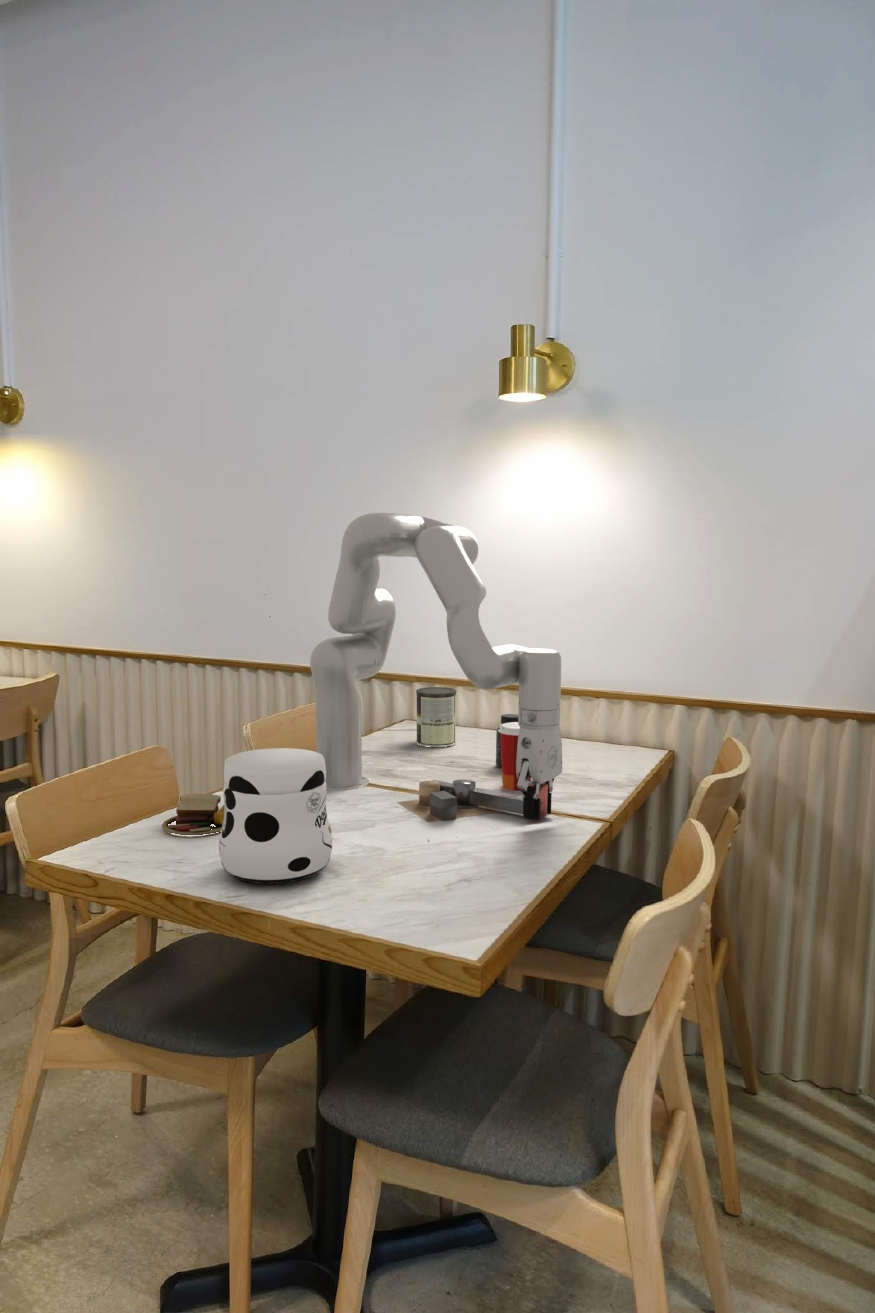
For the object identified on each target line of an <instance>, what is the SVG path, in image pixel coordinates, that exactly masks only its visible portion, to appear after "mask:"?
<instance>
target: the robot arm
mask: <svg viewBox="0 0 875 1313" xmlns="http://www.w3.org/2000/svg"><path fill="white" fill-rule="evenodd" d="M342 536H343V537H342V539H341V547H340V557H339V562H338V568H337V572H336V574H335V580H334V583H333V584H334V585H333V588H332V593H331V598H330V601H329V606H328V612H327V619H328V623H329V626H330V627H331V628H332V629H333V630H334V631H335V632H336V633H337V632H338V633H339V634H344V636H337V637H329V638H326V639H324V640H321V642H319V643H318V644H317V645H315V647H314V648H313V650H312V651H311V655H310V662H309V663H310V672H311V675H312V676H311V677H312V682H313V687H314V697H315V698H314V701H315V703H314V704H315V727H316V728H315V745H316V751H315V752H317V753H320V754H322V755H323V757H324V760H325V766H326V791H349V790H355V789H356V790H357V789H360V788H364V787H365V786H367V785H368V784H370V780H369V778H368V777H366V776H363V774H362V771H363V770H362V768H363V763H362V760H363V758H362V757H363V753H362V750H363V749H362V748H363V747H362V746H363V743H362V738H363V736H362V734H363V733H362V732H363V730H362V700H361V696H360V692H359V691H358V688H357V685H356V683H355V681H359V680H364V679H368V678H372V677H374V676H375V675H377V674H378V673H379V672H380V671H381V670H382V668H383V666H384V664H385V662H386V658H387V654H388V652H389V646H390V641H391V638H392V634H393V630H394V627H395V626H394V625H395V623H396V622H395V621H396V603H395V601H394V598H393V596H392V595H391V593H389V592H388V590H386V589H385V588H382V587H379V586H378V583H379V580H380V573H381V572H380V571H381V568H380V561H379V557H393V558H394V557H396V558H398V557H400V558H403V557H405V558H406V557H408V558H409V557H410V558H416V559H417V561H418V563H419V564H420V565H421V567H422V570H423V571H424V573H425V575H426V576H427V578H428V581H429V582H430V584H431V586H432V587H433V589H434V591H435V593H436V595H437V596H438V598H439V600H440V602H441V605H442V606H443V608H444V610H445V612H446V629H447V631H446V632H447V639H448V643H449V646H450V649H451V652H452V654H453V656H454V658H455V659H456V661H457V663H458V665H459V666H460V669H461V670H462V672H463V673H464V675H465V677H466V678H467V679H468V681H469V682H470V683H471V684H472V685H473V686H475V687H476V688H478V689H481V690H484V691H491V690H496V689H500V688H503V687H508V686H512V685H518V709H517V710H518V714H517V715H518V725H519V726H520V729H519V736H518V745H517V759H516V774H517V778H518V779H519V780H518V784H517V787H518V788H519V789H520V790H521V791H522V792H521V791H520V792H521V793H522V794H521V796H522V797H523V814H522V817H523V818H524V819H528V820H533V821H539V820H541V818H540V798H538V796H539V786H540V784H542V783H546V784H548V798H547V815H551V813H552V792H553V791H554V790H553V789H554V786H553V784H554V780H555V778H557V777H559V775H561V774H562V772H563V744H562V742H563V740H562V731H561V695H562V693H561V691H562V656H561V654H560V652H559V651H558V650H555V649H550V648H528V647H526V646H525V647H524V646H521V645H517V644H503V645H496V646H492V645H491V642H489V639H488V638H487V636H486V635H485V632H484V630H483V627H482V626H481V622H480V621H481V620H480V616H479V615H480V614H479V612H480V611H479V610H480V606H481V604H482V602H483V601H484V599H485V597H486V595H487V588H486V587H485V584H484V583H483V582H482V580H481V578H480V576H479V574H478V572H477V570H476V568H475V567H474V566H473V565H474V564H475V562H476V560H477V558H478V555H479V544H478V541H477V539H476V537H475V535H474V534H473V533H472V532H471V531H470V530H468V529H467V528H466V527H462V526H459V525H454V524H452V523H448V522H443V521H440V520H438V519H437V520H436V519H433V518H429V517H426V516H422V515H417V514H408V513H406V514H405V513H397V512H396V513H395V512H371V513H366V514H363V515H359V516H358V517H356V518H354V520H352V521H351V522H350V523H349V524H348V526H347V527H346V529H345V531H344V533H343V535H342ZM346 634H347V635H346ZM350 634H351V635H350ZM529 777H531V780H528V778H529ZM529 784H532V785H534V790H533V788H532V786H529Z"/></svg>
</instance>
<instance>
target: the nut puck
mask: <svg viewBox="0 0 875 1313" xmlns="http://www.w3.org/2000/svg"><path fill="white" fill-rule="evenodd" d="M437 781H438V780H437ZM437 781H432V780H423V781H422V780H421V781H419V783H418V784H419V785H418V797H419V798H418V799H419V804H420V805H422V806H430V793H431V792H439V791H440V783H439V782H437Z"/></svg>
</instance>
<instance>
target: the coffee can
mask: <svg viewBox="0 0 875 1313" xmlns="http://www.w3.org/2000/svg"><path fill="white" fill-rule="evenodd" d="M415 691H416V692H415V694H416V742H417V744H419V745H421V746H430V747H445V746H446V747H445V748H448V747H447V746H451V747H454V746H455V745H456V713H457V712H456V706H457V705H456V699H457V698H456V695H457V690H456V689H455V688H451V687H446V686H445V687H443V686H429V687H428V686H427V687H421V688H417V689H416V690H415ZM417 744H416V745H417ZM453 745H454V746H453ZM421 746H420V747H421Z"/></svg>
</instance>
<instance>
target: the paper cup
mask: <svg viewBox="0 0 875 1313" xmlns="http://www.w3.org/2000/svg"><path fill="white" fill-rule="evenodd" d="M501 725H502V726H501ZM501 725H500V726H499V727H500V729H499V730H498V732H500V739H501V763H502V768H501V779H502V788H503V789H505V790H507V791H508V790H509V791H520V792H521V793H522V791H521V790H520V789H519V788H518V787H517V784H518V780H519V779H518V778H517V774H516V759H517V745H518V736H519V729H520V726H519V725H518V722H510V723H504V724H501ZM528 780H532V778H531V777H529V778H528Z"/></svg>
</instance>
